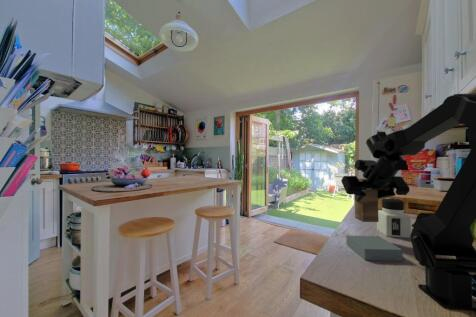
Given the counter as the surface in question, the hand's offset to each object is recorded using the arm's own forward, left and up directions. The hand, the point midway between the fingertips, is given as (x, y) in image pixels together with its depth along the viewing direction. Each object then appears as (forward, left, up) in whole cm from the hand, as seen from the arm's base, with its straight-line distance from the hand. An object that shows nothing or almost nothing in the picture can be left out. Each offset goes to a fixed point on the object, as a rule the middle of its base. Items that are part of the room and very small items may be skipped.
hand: (363, 200), depth 72 cm
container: (+7, -13, -14) cm, 20 cm away
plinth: (-11, +3, -13) cm, 18 cm away
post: (-1, 0, -7) cm, 7 cm away
